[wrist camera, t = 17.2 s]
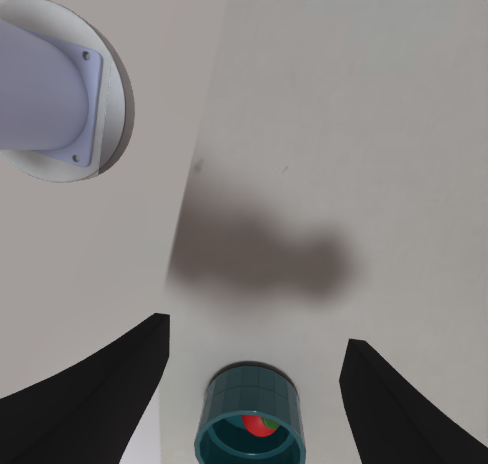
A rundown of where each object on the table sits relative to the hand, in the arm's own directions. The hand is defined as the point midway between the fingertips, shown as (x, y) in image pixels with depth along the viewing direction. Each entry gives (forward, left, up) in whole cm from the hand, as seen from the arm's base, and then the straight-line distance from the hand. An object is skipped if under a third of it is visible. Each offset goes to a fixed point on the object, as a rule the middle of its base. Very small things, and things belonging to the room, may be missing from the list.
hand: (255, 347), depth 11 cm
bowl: (+3, -13, -9) cm, 16 cm away
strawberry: (+3, -13, -8) cm, 16 cm away
